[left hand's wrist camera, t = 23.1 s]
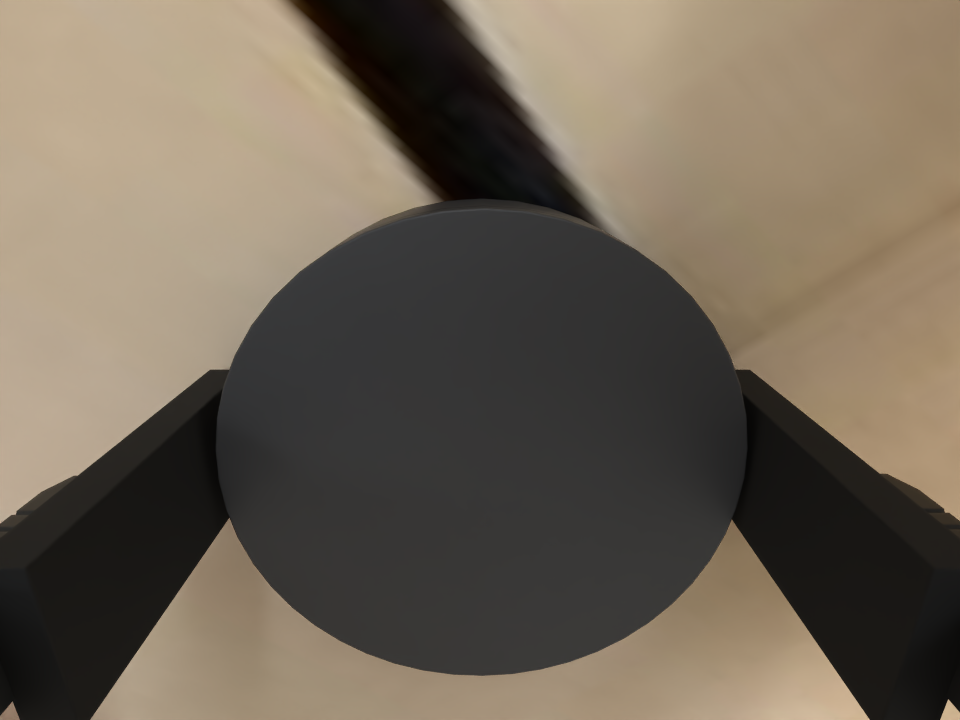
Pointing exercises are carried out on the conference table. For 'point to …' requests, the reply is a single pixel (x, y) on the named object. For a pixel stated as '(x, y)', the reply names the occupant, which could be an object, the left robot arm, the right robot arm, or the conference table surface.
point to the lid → (481, 439)
